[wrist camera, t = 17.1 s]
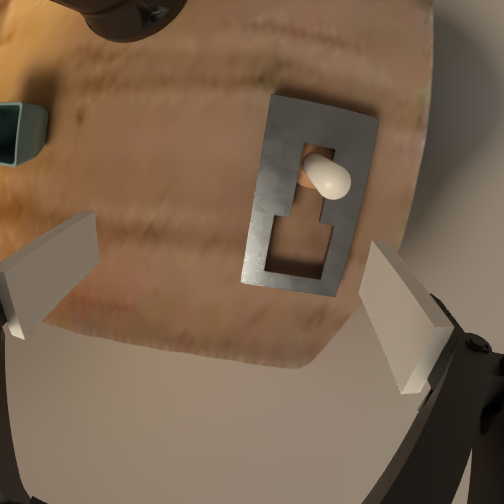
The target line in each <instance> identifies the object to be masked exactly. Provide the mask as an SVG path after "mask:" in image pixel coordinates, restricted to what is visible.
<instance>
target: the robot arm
mask: <svg viewBox="0 0 504 504" xmlns="http://www.w3.org/2000/svg"><path fill="white" fill-rule="evenodd" d="M50 1H53V2H56V3H58V4H61V5H63V6H66V7H68V8H71V9H73V10H75V11H78V12H80V13H81V15H82V16H83V17H84V18H85V21H86V23H87V25H88V26H89V28H90V29H91V30H92V31H93V32H94V33H95V34H97V35H98V36H100V37H102V38H105V39H107V40H109V41H113V42H119V43H127V42H134V41H138V40H141V39H144V38H147V37H149V36H151V35H153V34H155V33H156V32H158V31H160V30H161V29H163V28H164V27H165V26H167V25H168V24H169V23H170V22H171V21H172V20H173V19H174V18H175V17H176V16H177V15H178V13H179V12H180V11H181V9H182V8H183V6H184V4H185V2H186V0H50ZM99 263H100V262H99V253H98V244H97V233H96V220H95V212H92V211H81V212H80V213H78V214H76V215H74V216H73V217H71V218H69V219H67V220H66V221H64V222H62V223H61V224H59V225H57V226H56V227H54V228H53V229H51V230H49V231H48V232H46V233H44V234H43V235H41V236H40V237H38V238H37V239H35V240H33V241H32V242H30V243H29V244H27V245H26V246H24V247H23V248H21V249H20V250H18V251H17V252H15V253H14V254H12V255H11V256H9V257H8V258H7V259H5V260H4V261H2V262H1V263H0V504H47V503H45V502H43V501H41V500H39V499H37V498H35V497H33V496H32V498H30V497H29V495H28V494H27V492H26V491H25V489H24V487H23V485H22V482H21V479H20V475H19V471H18V466H17V462H16V458H15V452H14V447H13V442H12V435H11V428H10V422H9V413H8V405H7V393H6V377H5V334H4V331H3V328H2V326H3V325H4V324H5V323H6V322H7V323H8V326H9V329H10V331H11V334H12V335H14V336H16V337H19V338H22V339H24V340H25V339H26V338H27V337H28V336H29V335H30V334H31V333H32V331H33V330H34V329H35V328H36V327H37V326H38V325H39V324H40V323H41V322H42V321H43V319H44V318H45V317H46V316H47V315H48V314H49V313H50V312H51V311H52V310H53V309H54V308H55V307H56V306H57V305H58V304H59V303H60V302H61V301H62V300H63V299H64V298H65V296H66V295H67V294H68V293H69V292H70V291H71V290H72V289H73V288H74V287H75V286H76V285H77V284H78V283H79V282H80V281H82V280H83V279H84V278H85V277H86V276H87V275H88V274H89V273H90V272H91V271H92V270H93V269H94V268H95V267H96V266H97V265H98V264H99ZM359 295H360V297H361V299H362V302H363V304H364V306H365V308H366V310H367V313H368V315H369V317H370V320H371V322H372V324H373V327H374V329H375V331H376V333H377V336H378V338H379V341H380V343H381V345H382V348H383V350H384V353H385V355H386V358H387V360H388V362H389V365H390V367H391V370H392V372H393V375H394V378H395V380H396V383H397V385H398V388H399V391H400V393H401V394H408V393H420V391H421V389H422V388H423V386H424V384H425V383H426V381H427V380H428V382H429V384H430V386H431V389H430V391H429V392H428V394H427V396H426V397H425V399H424V400H423V402H422V403H421V405H420V406H419V408H418V411H419V412H418V414H417V416H416V418H415V420H414V422H413V423H412V425H411V427H410V429H409V431H408V433H407V434H406V436H405V438H404V440H403V442H402V443H401V445H400V447H399V449H398V450H397V452H396V453H395V455H394V457H393V458H392V460H391V462H390V463H389V465H388V466H387V468H386V470H385V471H384V472H383V474H382V476H381V477H380V478H379V480H378V481H377V483H376V484H375V486H374V487H373V489H372V490H371V491H370V493H369V494H368V496H367V497H366V498H365V500H364V501H363V502H362V504H451V503H452V501H453V498H454V496H455V494H456V491H457V489H458V486H459V484H460V481H461V478H462V476H463V473H464V470H465V467H466V465H467V461H468V459H469V456H470V452H471V449H472V462H471V475H470V485H469V493H468V501H467V504H504V354H499V353H495V352H492V348H491V346H490V345H489V343H488V342H487V341H486V340H484V339H483V338H482V337H480V336H478V335H476V334H472V333H465V332H464V331H463V329H462V328H461V327H460V325H459V324H458V323H457V321H456V320H455V319H454V318H453V316H451V313H450V312H449V311H448V310H446V307H445V306H444V304H443V303H442V302H441V301H440V300H439V299H438V298H436V297H435V296H434V295H432V294H430V293H428V292H427V290H426V289H425V288H424V286H423V285H422V284H421V283H420V281H419V280H418V279H417V278H416V276H415V275H414V274H413V273H412V271H411V270H410V269H409V268H408V267H407V265H406V264H405V263H404V262H403V261H402V259H401V258H400V257H399V256H398V255H397V254H396V252H395V251H394V250H393V249H392V248H391V247H390V245H389V244H388V243H387V242H379V241H372V243H371V247H370V252H369V256H368V260H367V264H366V267H365V271H364V275H363V279H362V282H361V286H360V290H359Z"/></svg>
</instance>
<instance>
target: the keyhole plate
mask: <svg viewBox="0 0 504 504" xmlns="http://www.w3.org/2000/svg"><path fill="white" fill-rule="evenodd" d="M378 123H379V118H375V117H372V116H368V115H365V114H361V113H357V112H353V111H349V110H346V109H342V108H337V107H333V106H329V105H325V104H320V103H315V102H311V101H306V100H301V99H296V98H290V97H285V96H279V95H273V94H271V99H270V105H269V111H268V117H267V123H266V129H265V135H264V141H263V147H262V153H261V159H260V165H259V171H258V178H257V184H256V190H255V196H254V202H253V208H252V215H251V221H250V227H249V233H248V239H247V246H246V252H245V258H244V265H243V271H242V277H241V283H246V284H253V285H259V286H265V287H271V288H278V289H284V290H290V291H297V292H304V293H310V294H317V295H324V296H331V297H336V293H337V290H338V287H339V284H340V280H341V277H342V274H343V270H344V267H345V263H346V260H347V256H348V253H349V249H350V246H351V242H352V238H353V235H354V231H355V227H356V223H357V219H358V215H359V211H360V207H361V203H362V199H363V195H364V191H365V186H366V182H367V178H368V173H369V168H370V164H371V159H372V154H373V149H374V144H375V139H376V134H377V128H378ZM304 143H308V144H313V145H318V146H323V147H327V148H332V149H334V151H333V156H332V161H333V162H335V163H336V164H338V165H340V166H342V167H343V168H345V169H346V170H347V171H348V173H349V175H350V178H351V186H350V189H349V191H348V193H347V194H346V195H345V196H343V197H342V198H340V199H335V200H331V199H327V198H325V197H324V200H323V204H322V209H321V213H320V218H319V222H320V223H323V224H328V225H333V226H332V230H331V234H330V238H329V242H328V246H327V250H326V254H325V258H324V262H323V266H322V269H321V273H320V277H318V276H312V275H305V274H299V273H293V272H287V271H281V270H274V269H268V268H264V267H265V262H266V256H267V251H268V246H269V240H270V235H271V230H272V224H273V219H274V215H278V216H284V217H290V213H291V208H292V203H293V198H294V193H295V188H296V183H297V177H298V172H299V167H300V161H301V156H302V151H303V145H304Z"/></svg>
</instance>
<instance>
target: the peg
mask: <svg viewBox="0 0 504 504" xmlns="http://www.w3.org/2000/svg"><path fill="white" fill-rule="evenodd" d="M332 156H333V150H332V149H331V148H327V147H323V146H318V145H313V144H308V143H304V145H303V151H302V156H301V161H300V167H299V172H298V177H297V183H299V184H300V185H302V186H304V187H306V188H311V189H316V188H317V190H318V191H319V192H320V194H321V195H322V196H324V197H325V198H327V199H331V200H335V199H340V198H342V197H343V196H345V195H346V194H347V193H348V191H349V189H350V186H351V178H350V175H349V173H348V171H347V170H346V169H345V168H343V167H342V166H340V165H338V164H336V163H335V162H333V161H332Z"/></svg>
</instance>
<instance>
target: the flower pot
mask: <svg viewBox="0 0 504 504" xmlns="http://www.w3.org/2000/svg"><path fill="white" fill-rule="evenodd" d="M47 123H48V112H47V111H46V109H45V108H44V107H42V106H40V105H37V104H31V103H24V102H0V165H4V166H9V167H16V166H18V165H20V164H22V163H24V162H27V161H29V160H31V159H33V158H34V157H36V156H37V155H38V154H39V153H40V152H41V150H42V148H43V147H44V144H45V139H46V130H47Z"/></svg>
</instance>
